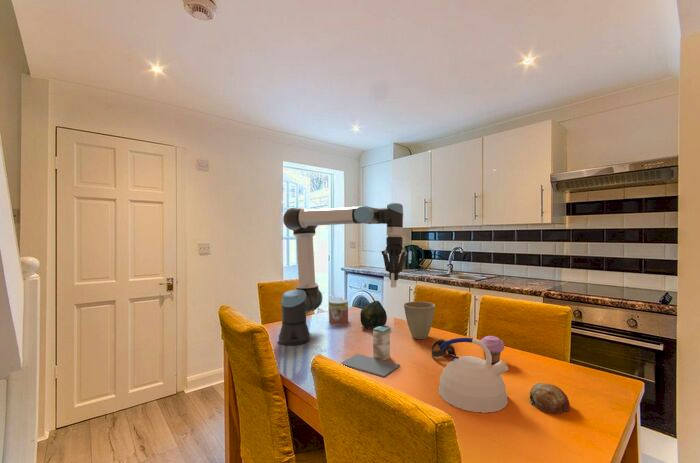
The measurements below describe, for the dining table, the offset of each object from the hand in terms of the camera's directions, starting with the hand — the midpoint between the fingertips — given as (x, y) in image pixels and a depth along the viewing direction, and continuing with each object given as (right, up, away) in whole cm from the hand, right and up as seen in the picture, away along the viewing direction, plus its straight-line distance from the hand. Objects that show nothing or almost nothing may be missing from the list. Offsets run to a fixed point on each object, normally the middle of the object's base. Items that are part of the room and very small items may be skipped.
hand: (393, 287), depth 149 cm
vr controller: (+18, -26, -17) cm, 36 cm away
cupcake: (+36, -26, -23) cm, 50 cm away
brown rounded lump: (+39, -26, -55) cm, 72 cm away
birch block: (-7, -26, -17) cm, 32 cm away
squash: (-7, -27, +26) cm, 38 cm away
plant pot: (+14, -26, +8) cm, 31 cm away
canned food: (-27, -27, +37) cm, 53 cm away
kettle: (+18, -26, -48) cm, 58 cm away
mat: (-13, -26, -24) cm, 38 cm away
